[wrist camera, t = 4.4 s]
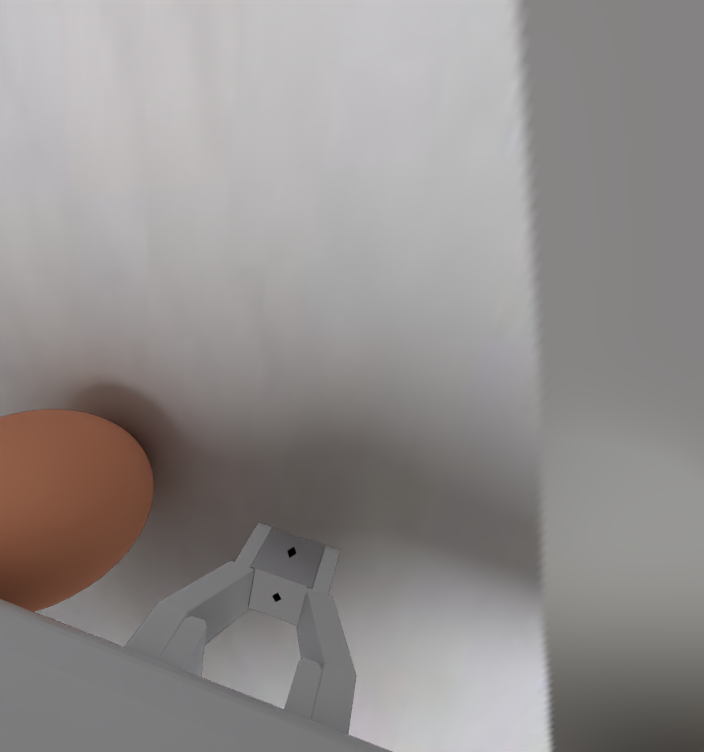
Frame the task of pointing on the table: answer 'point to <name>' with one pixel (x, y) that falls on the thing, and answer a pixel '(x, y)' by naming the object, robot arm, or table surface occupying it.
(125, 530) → the ball
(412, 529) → the table surface
